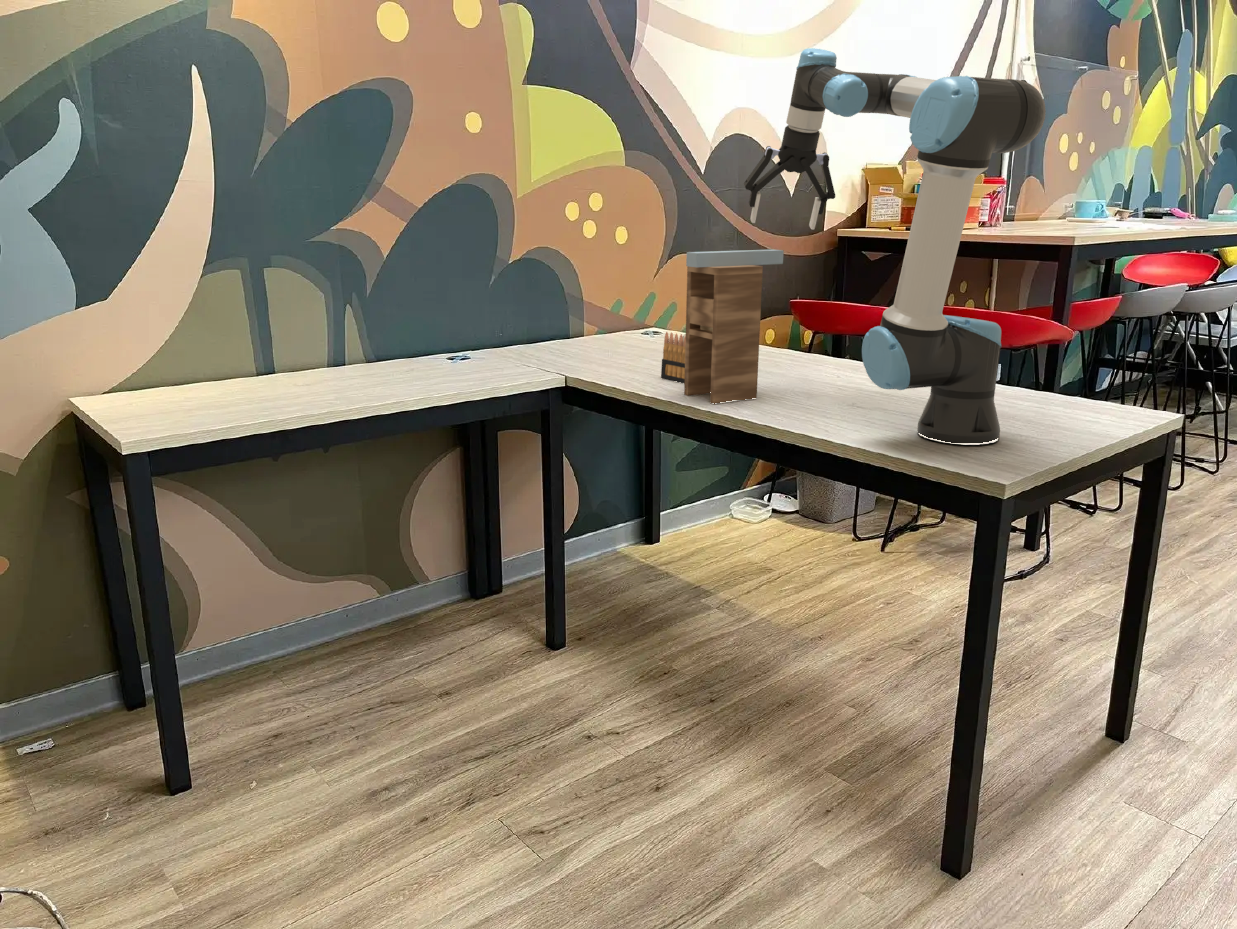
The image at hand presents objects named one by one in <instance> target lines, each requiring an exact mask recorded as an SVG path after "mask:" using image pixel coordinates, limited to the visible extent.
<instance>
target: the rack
mask: <svg viewBox="0 0 1237 929" xmlns="http://www.w3.org/2000/svg"><path fill="white" fill-rule="evenodd" d="M686 267H687V269H686V271H687V273H686V307H685V308H686V309H685V310H686V311H685V315H686V316H685V334H686V342H685V384H684V385H683V386H684V387H683V388H684V390H683V391H684V392H683V393H684V394H683V395H685V396H687V397H690V396H700V395H705V394H706V393H708V394H710V396H709V397H710V399H709V400H710V401H709V403H710V402H711V403H714V404H713V405H716V404H715V403H720V402H726V401H732V400H745V399H752V398H757V396H758V380H759V379H758V377H759V376H758V375H759V374H758V373H759V356H760V355H759V353H760V337H761V336H760V334H761V312H762V290H763V271H764V270H763V268H764V266H763V265H742V266H718V267H689V266H686ZM710 392H711V393H710ZM757 399H758V398H757ZM745 401H746V400H745ZM711 403H710V404H711Z"/></svg>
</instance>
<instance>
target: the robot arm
mask: <svg viewBox="0 0 1237 929" xmlns="http://www.w3.org/2000/svg"><path fill="white" fill-rule="evenodd" d="M837 60H838V59H837V54H836V53H835V52H833V51H831V50H828V49H827V50H826V49H821V48H816V47H815V48H814V47H811V48H809V47H808V48H805V49H803V50H802V51H801V53H800V56H799V60H798V64H797V67H796V71H795V76H794V82H793V87H792V93H791V96H790V97H791V98H790V103H789V108H788V113H787V116H786V121H785V123H786V124H787V125H786V126H785V127H784V131H783V134H782V135H783V137H782V142H781V146H780V147H779V149H777V148H774V147H773V148H772V146H770V145H767V146H766V148H765V150H764V154H763V156H762V157H761V159H760V160H759V161H758V163H757V164H756V166H755V167H754V169H753V170H752V171H751V172H750V174H749V175H748V177H747V178H746V180H745V181H744V183H743V186H744V188H745V189H746V190H748V191H750V195H749V199H748V200H749V201H748V206H749V208H752V209H751V214H750V217H749V218H750V221H751V223H752V224H756V219H757V216H758V209H759V205H760V200H761V195H762V194H761V192H760V191H761V190H762V189H763V188H765V186H767V185H768V184H769V183H770V182H771V181H772V180H774V179H775V178H776V177H777V176H778V175H779V174H781V173H783V172H784V171H786V172H787V173H797V174H802V173H806V174H807V176H808V178H809V180H810V181H811V184H812V185H813V187H814V189H815V192H816V193H817V194H818V196H819V197H818V196H817V197H816V196H815V197H814V202H813V207H812V211H811V215H810V219H809V223H808V227H809V228H810V229H811V230H815V228H816V226H817V225H816V224H817V220H818V215H821V216H822V214H823V213H824V209H825V206H826V202H827V201H828V200H834V199H835V198H836V193H835V189H834V184H833V180H832V176H831V171H830V167H829V164H830V163H829V162H830V156H829V155H828V153H827V152H825V151H824V152H822V153H817V148H818V144H819V140H820V135H821V133H820V130H821V129H822V125H823V122H824V117H825V116H824V115H825V112H826V110H827V111H829V113H832V114H834V115H836V116H841V117H845V118H851V117H853V116H855V115H856V114H859V113H860V114H880V115H881V114H883V115H892V116H895V117H896V116H897V117H901V118H902V117H903V118H907V119H909V124H908V125H909V126H908V127H909V128H908V130H909V133H910V134H911V135H910V137H909V138H910V141H911V143H912V145H913V146H914V148H916V149H917V150H918V152H917V156H916V160H917V162H918V163H919V165H920V167H921V168H922V169H923V170H922V171H923V173H922V176H921V181H920V186H919V189H918V195H917V199H916V202H915V203H916V204H915V208H914V211H913V212H914V213H913V217H912V220H911V226H910V229H909V230H910V231H909V233H908V238H907V244H906V247H905V253H904V256H903V261H902V264H901V266H902V267H901V270H900V275H899V279H898V284H897V287H896V293H895V297H894V300H893V304H892V305H891V306H889V307H887V308H886V309H885V310H883V313H882V317H881V321H880V325H877V326H874V327H872V328H870V329H869V330H868V331H867V332H866V333H865V335H864V338H863V340H862V344H861V345H862V346H861V358H862V364H863V367H864V369H865V371H866V374H867V376H868V378H869V379H870V380H871V382H872V383H873V384H875V386H877V387H879V388H880V389H884V390H898V391H904V390H909V389H919V388H920V389H921V388H930V393H929V394H930V395H929V397H928V399H927V402H926V404H925V407H924V408H923V411H922V412H921V415H920V417H919V419H918V422H917V430H916V432H917V431H918V433H920V434H922V435H924V436H926V437H928V438H933V439H937V440H941V441H945V442H951V443H983V442H989V441H992V440H995V439H997V438H999V439H1000V435H1001V428H1000V423H999V422H1000V421H999V417H998V413H997V408H996V404H995V394H996V385H997V384H996V383H997V376H998V370H999V361H1000V354H1001V348H1002V341H1001V340H1002V328H1001V326H1000V325H999V324H998V323H997V322H995V321H991V320H990V321H989V320H986V319H985V320H984V319H977V318H970V317H962V316H958V315H947V314H943V310H944V306H945V303H946V298H947V294H948V291H949V286H950V282H951V279H952V274H953V270H954V266H955V263H956V259H957V258H956V257H957V254H958V250H959V247H960V242H961V238H962V235H963V230H964V226H965V222H966V220H967V219H966V218H967V214H968V209H969V206H970V202H971V197H972V194H973V191H974V186H975V182H976V179H977V178H978V176H979V175H981V174H982V173H983V172H985V171H987V170H988V169H989V165H990V161H991V158H992V155H993V154H1005V153H1006V154H1007V153H1011V152H1015V151H1018V150H1021V149H1023V148H1024V147H1026V146H1027V145H1029V144H1030V143H1031V142H1032V141H1033V140H1034V139H1035V138H1036V137H1037V136H1038V135H1039V133H1040V132H1041V130H1042V128H1043V125H1044V123H1045V118H1046V102H1045V100H1044V98H1043V95H1042V94H1041V93H1040V91H1039V90H1038V89H1037V87H1036V86H1033V85H1032V84H1031V83H1029V82H1026V81H1023V80H1019V79H1014V78H1013V79H1011V78H1006V79H1005V78H991V77H979V76H976V77H975V76H968V75H958V76H946V77H945V76H943V77H940V78H937V79H930V78H923V77H917V76H915V75H910V74H904V73H903V74H902V73H901V74H895V73H894V74H892V73H890V74H889V73H874V72H872V73H871V72H870V73H869V72H859V71H858V72H857V71H854V72H853V71H844V70H841V69H839V68H836V67H837ZM776 156H778V159H779V160H778V161H777V162H776V163H775V164H774V165H773V166H772V168H771V169H769V170H768V171H767V172H766V173H765V174H763V176H761V175H762V173H763V171H764V170H765V169H766V167H767V166H769V163H770V161H771V160H774V158H775V157H776ZM816 161H817V162H818V164H819V165H820V167H821V170H822V175H823V180H824V182H825V187H826V192H824V190H823V188H822V186H821V184H820V183H819V180H818V179H817V177H816V175H815V173H814V171H813V170H812V167H811V166H813V164H814V163H815V162H816ZM760 176H761V177H760ZM759 177H760V178H759ZM758 178H759V179H758Z"/></svg>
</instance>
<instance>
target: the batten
mask: <svg viewBox="0 0 1237 929" xmlns="http://www.w3.org/2000/svg"><path fill="white" fill-rule="evenodd" d="M783 264H784V250H783V249H753V250H752V249H751V250H750V249H749V250H748V249H747V250H746V249H745V250H744V249H743V250H718V251H717V250H716V251H714V250H712V251H711V250H710V251H688V252H686V263H685V265H686V267H687V266H689V267H718V266H742V265H755V266H763V265H783Z"/></svg>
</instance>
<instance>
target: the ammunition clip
mask: <svg viewBox="0 0 1237 929" xmlns="http://www.w3.org/2000/svg"><path fill="white" fill-rule="evenodd" d="M684 335H685V334H684ZM685 342H686V335H685V338H684V344H683V334H680V335H679V336H678V333H677V332H675V335H674V334H673V332H670V335H669V333H668V331H666V332H665V335H664V341H663V348H662V349H663V352H662V354H663V355H662V358H661V369H660V370H661V372H660V373H661V374H660V379H661V378H662V380H666V381H671V382H674V381H677V382H676V383H679V382H681V383H680V384H683V383H684V384H685Z"/></svg>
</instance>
